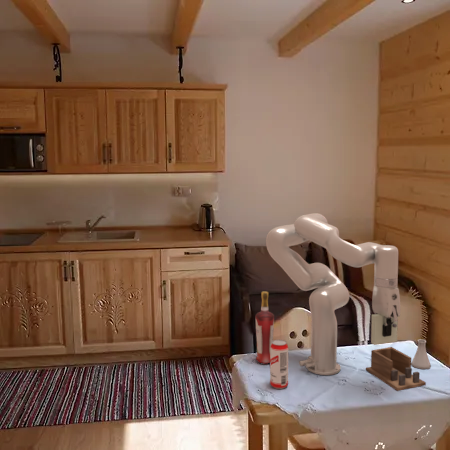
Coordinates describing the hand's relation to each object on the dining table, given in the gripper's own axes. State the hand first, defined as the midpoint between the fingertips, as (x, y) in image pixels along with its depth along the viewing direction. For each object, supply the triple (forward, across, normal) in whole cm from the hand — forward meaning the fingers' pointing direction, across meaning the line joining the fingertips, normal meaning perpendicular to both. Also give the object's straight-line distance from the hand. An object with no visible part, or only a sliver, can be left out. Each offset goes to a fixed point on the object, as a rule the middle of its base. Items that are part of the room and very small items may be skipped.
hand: (384, 334), depth 174 cm
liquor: (+19, +35, +30) cm, 49 cm away
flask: (+20, +11, -25) cm, 34 cm away
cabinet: (+19, +6, -9) cm, 22 cm away
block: (+3, 0, 0) cm, 3 cm away
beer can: (+19, +14, +33) cm, 41 cm away
